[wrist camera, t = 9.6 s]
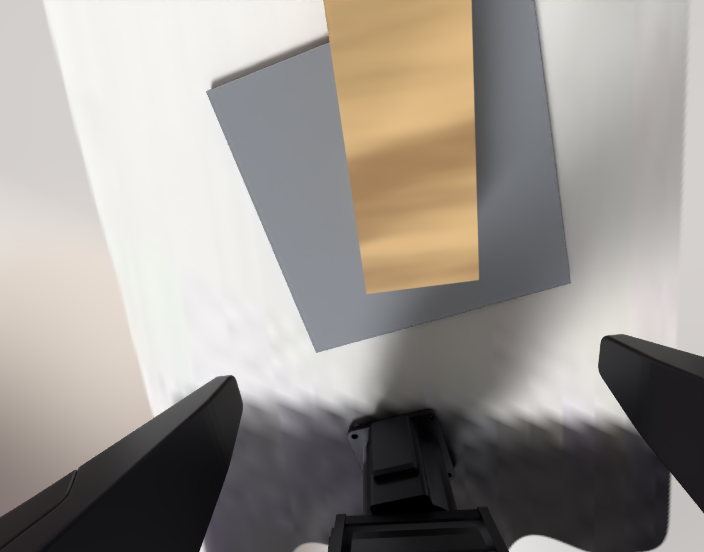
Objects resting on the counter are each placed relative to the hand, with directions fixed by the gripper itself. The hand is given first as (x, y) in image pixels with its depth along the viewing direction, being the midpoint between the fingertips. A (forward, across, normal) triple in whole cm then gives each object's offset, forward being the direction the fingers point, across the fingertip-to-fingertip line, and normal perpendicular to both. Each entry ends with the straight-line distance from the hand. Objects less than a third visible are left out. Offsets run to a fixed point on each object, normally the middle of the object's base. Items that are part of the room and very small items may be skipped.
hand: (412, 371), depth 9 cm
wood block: (+10, -1, +1) cm, 10 cm away
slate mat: (+13, -1, -3) cm, 13 cm away
